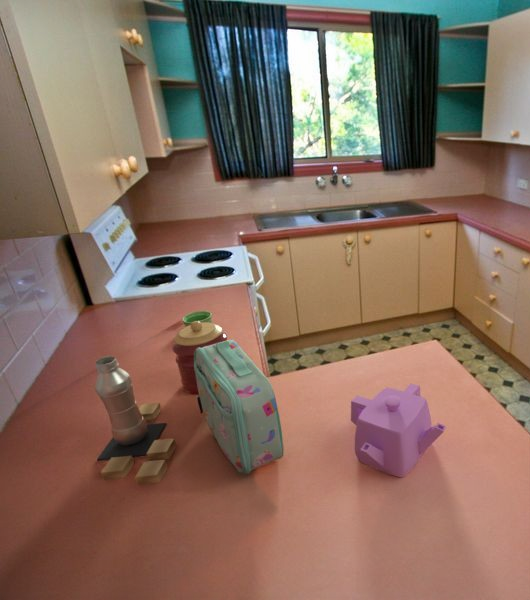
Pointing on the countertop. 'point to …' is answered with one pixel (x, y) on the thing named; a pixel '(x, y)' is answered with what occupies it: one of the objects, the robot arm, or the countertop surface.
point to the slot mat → (135, 449)
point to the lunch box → (238, 405)
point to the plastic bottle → (119, 402)
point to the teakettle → (393, 429)
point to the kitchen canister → (187, 345)
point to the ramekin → (197, 317)
